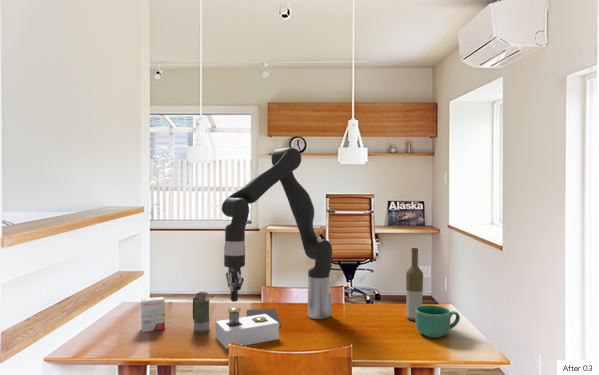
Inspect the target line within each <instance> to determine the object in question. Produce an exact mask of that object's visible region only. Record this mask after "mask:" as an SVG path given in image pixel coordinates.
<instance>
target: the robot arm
mask: <svg viewBox="0 0 599 375" xmlns="http://www.w3.org/2000/svg"><path fill="white" fill-rule="evenodd" d="M301 162H302V155H301V152H300V150H298V149H297V148H295V147H285V148H278V149H275V150H273V152H272V153H271V164H272V166H271V167H270V168H268V169H266V170H265V171H263V172H261V173H259V174H257V176H254V177H253V178H252V179H251V180H250V181H248V182H247V183H246V184H245V185H244V187H242V188H240V189H239V190H237V191H236V192H234V193H232V194H231V195H229V196H227V198H225V200H224V201H223V202H222V204H221V211H222V214H223V215H224V216H226V217H229V218H231V222H230V223H229V224H227V225H225V228H224V229H225V230H224V232H225V233H224V234H225V235H224V236H225V237H224V245H223V246H224V247H223V248H224V250H223V251H224V252H223V266H224V267H226V268H228V271H226V273H225V276H226V282H227V287H228V288H229V290H230V301H231V302H238V300H239V297H238V296H239V291H240V290H241V288H242V286H243V283H244V281H245V280H244V277H242V271H241V268H243V267H245V265H246V241H245V238H246V236H245V235H246V234H245V233H246V232H245V230H246V227H247V223H248V220H249V219H248V218H249V214H250V207H249V205H250V204H253V203H255V202H257V201H258V200H259V199H260V198H261V197H262V196H263V195H265V193H266V192H267V191H268V190H269V189H270V188H272V187H273V186H274V185H276V184H277V183H278V182H279V181H280V183H281V186H282V188H283V191H284V193H285V196H286V198H287V201H288V206H290V210H291V212H292V215H293V218H294V221H295V223H296V225H297V229H298V232H299V236H300V239H301V243H302V247H303V251H304V254H305V255H306V257H308V258H309V259H310V260H314V266H313V267H311V268H309V269H308V270H307V271H308V272H307V274H308V275H307V316H308V317H309V318H311V319H316V320H323V319H327V318H329V317H331V316H332V294H331V293H330V274H331V270H332V265H333V264H332V260H333V247H332V244H331V242H330V241H329V240H327V239H324V238H318V237H317V235H316V232H315V230H314V229H315V228H314V218H315V207H314V204H313V201H312V199H311V196H310V195H309V193H308V192H307V190H306V189H305V188H304V187H303V186H302V185H301V184H300V182H299V181H298V180H297V178H296V176H295V175H294V171H295V170H297V169H298V168H299V167H300V166H301Z"/></svg>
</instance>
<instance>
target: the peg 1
mask: <svg viewBox="0 0 599 375" xmlns="http://www.w3.org/2000/svg"><path fill="white" fill-rule="evenodd" d="M241 310H242V309H241V307H239V306H231V307H228V308H227V312H228V319H229V327H234V326H239V318H240V312H241Z"/></svg>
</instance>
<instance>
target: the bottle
mask: <svg viewBox="0 0 599 375" xmlns="http://www.w3.org/2000/svg"><path fill="white" fill-rule="evenodd" d="M410 252H411V266H410V267H409V268H408V270H406V272H405V284H406V285H405V288H406V289H405V292H406V295H405V296H406V301H405V303H406V319H407V320H409V321H412V322H416V321H415V310H416V307H418V306H423V296H424V295H423V292H424V290H423V289H424V288H423V287H424V286H423V285H424V272H423V271H422V270H421V269H420V268H419V248H417V247H412V248H411V251H410Z"/></svg>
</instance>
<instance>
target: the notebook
mask: <svg viewBox="0 0 599 375" xmlns="http://www.w3.org/2000/svg"><path fill="white" fill-rule="evenodd" d="M261 314H267V315H268V316H270V317H271V318H272V319H274V320H275V321H277V322H278V323H279V327H281V321H280V318H279V316H278V312H277V310H276V308H265V309H264V308H262V309H261V308H259V309H246V317H248V316H255V315H261Z"/></svg>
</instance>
